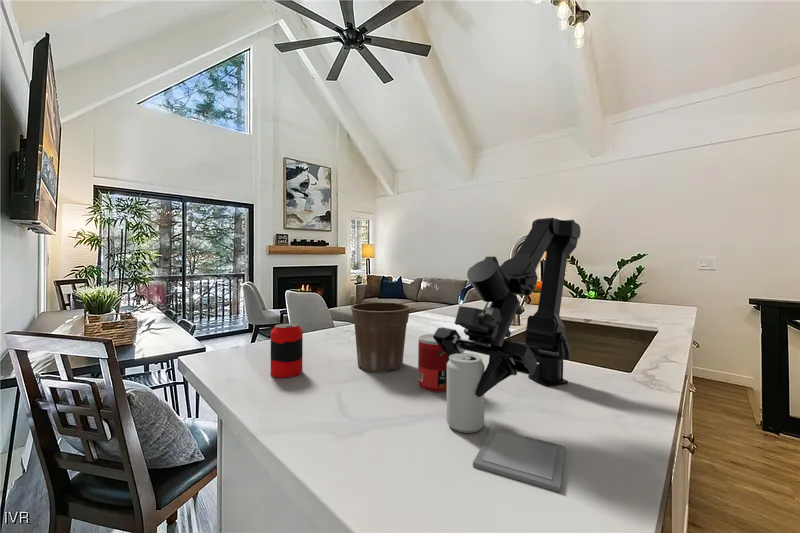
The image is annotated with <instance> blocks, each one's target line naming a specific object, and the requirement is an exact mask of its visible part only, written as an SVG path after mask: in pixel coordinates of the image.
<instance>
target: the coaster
mask: <svg viewBox="0 0 800 533" xmlns="http://www.w3.org/2000/svg"><path fill="white" fill-rule="evenodd" d="M565 451H566V445H562V444H559V443H554V442H551V441H547V440H541V439H539V438H534V437H529V436H525V435H521V434H517V433H513V432H509V431H505V430H500V429H497V428H491V430H490V431H489V433H488V435H487V436H486V438H485V440H484V442H483V444H482V445H481V447H480V448H479V451H478V452H477V454H476V456H475V458H474V459H473V462H472V467H474V468H476V469H480V470H483V471H486V472H490V473H494V474H497V475H500V476H504V477H507V478H509V479H513V480H517V481H521V482H524V483H527V484H530V485H533V486H536V487H540V488H544V489H546V490H550V491H553V492H556V493H561V486H562V478H563V477H562V476H563V469H564V463H565V461H564V460H565V453H566V452H565Z"/></svg>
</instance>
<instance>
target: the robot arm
mask: <svg viewBox="0 0 800 533" xmlns="http://www.w3.org/2000/svg"><path fill="white" fill-rule="evenodd" d="M580 237H581V226H580V224H579V223H577V222H576V221H575V220H574V219H564V220H563V219H559V218H554V217H546V218H545V217H544V218H536V219H534V220H533V222H532V224H531V229H530V230H529V232H528V234H527V235H526V237H525V238H524V240H523V242H522V244H521V245H520V246H519V249H518V250H517V252H516V254H514V256H513V257H511V258H509V259H507V260H505V261H504V262H503V263H502V264H501V265H500V264H499V261H498V258H497V256H485V258H484V260H480V261H478V262H477V263H474V264H473V265H472V266H470V267H468V268H469V269H468V270H467V273H466V277H467V279H468V280H469V283H470V284H471V286H472V288H473V289H474V290H475V292H476V294H477V295H478V297H479V299H480V300H481V301H482V302H486V304H485V305H484V307H483V309H482V308H477V307H470V306H463V305H459V307H458V309H457V312H456V316H455V320H454V324H455V325H456V326H460V327H462V328H464V329H463V333H464V334H465V335H466V336H468V338H462V337H461V335H460V334H459V332H458V331H457V329H452V328H447V327H438V328H437V329H436V331H435V332H434V333H433V334H434V336H433V338H434V339H435V341H436V342H437V343H438V345H439V346H440V347H441V348H442V350H443V351H444V352H445V353H447V362H448V361H449V356H450V355H452V354H457V353H465V351H468V352H472V353H478V354H483V355H485V356H489V357H488V363H487V366H486V367H485V369H484V374H483V376H482V378H481V380H480V382H479V384H478V387H477V390H476V393H475V394H476V395H477V397H481V396H482V395H483V394H484V395H485V394H486V393H487V392H488V391H490V390H491V389H493V388H494V387H495V386H497V385H498V384H499V383H501V382H502V381H505V380H506V379H507V378H508V377H510V376H517V374H518V373H519V374H520V373H521V374H524V375H527V377H528V378H529V379H531V380H534V381H535V382H537V383H540V384H541V385H544V386H545V387H546V386H547V387H548V386H549V387H550V386H557V385H564V384H569V380H567V379H564V360H570V359H571V354H572V352H571V350H572V347H571V343H569V340H568V338H567V335H566V327H565V325H564V322H563V321H562V320H563V319H562V318H561V316H560V311H561V305H562V299H563V291H564V284H565V276H566V269H567V264H568V263H567V261H568V257H569V256H570V255H571V254H572V253H573V252H574V250H575V249H576V248H577V246H578V241H579V240H578V239H580ZM544 254H545V262H544V266H543V273H542V274H543V275H542V281H541V286H540V287H541V288H540V293H539V298H538V299H539V300H538V306H537V311H536V312H535V313H534V314H533V315H529V316H528V318H527V321H526V328H525V331H524V336H523V337H524V342H522V341H518V340H517V341H516V340H512V339H506V340H505V338H510V337H511V335H512V332H511V330H510V327H511V325H512V323H513V321H514V318H515V316H516V315H522V314H523V309H522V306H521V302H520V301H519V298H518V297H517V296H531V295H532V293H533V292H534V291H535V289H536V287H537V283H538V282H537V281H538V279H539V278H538V274H537V272H536V270H537V268H538V266H539V263H540V261H541V260H542V259H543V257H544ZM444 384H445V385H446V386H447V365H446V372H445V380H444Z"/></svg>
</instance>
